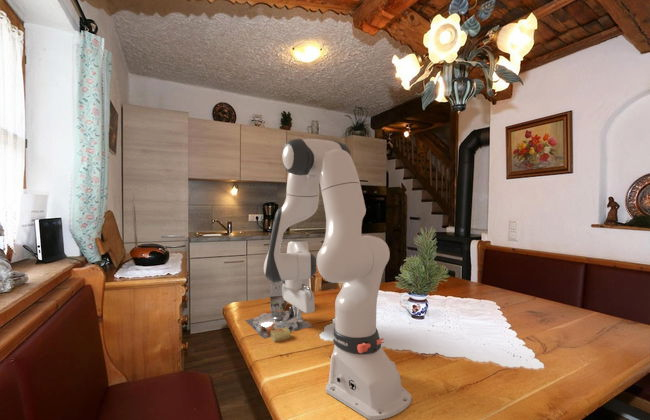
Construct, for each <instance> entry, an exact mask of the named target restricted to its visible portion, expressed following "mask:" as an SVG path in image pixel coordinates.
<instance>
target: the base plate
mask: <svg viewBox="0 0 650 420" xmlns="http://www.w3.org/2000/svg"><path fill="white" fill-rule="evenodd" d="M287 311H288V313H289V310H287ZM254 318H255V317H254ZM254 318H250V319H245V322H246V323H247V324H248V325H249V326H250V327H251V328H252V329H253V330H254V331H255V332H256V333H257V334H258V335H259V336H260V337H261V338H262V339H268V338H271V333H266V331H265V330H264V331H261V332H260V331H257V330H256V327H255V328H254V327H253V321H254ZM312 327H313V325H312V324H311V323H309V322H307V321H306V320H305V319H303V324H302V326H298V329H296V330H290V333H291V332H296V331H299V330H304V329H308V328H312Z"/></svg>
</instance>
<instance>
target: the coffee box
mask: <svg viewBox="0 0 650 420" xmlns="http://www.w3.org/2000/svg"><path fill="white" fill-rule="evenodd" d="M269 281H270V280H269ZM269 283H270V285H269V286H270V288H269V289H270V290H269V291H270V292H269V294H270V298H269V299H270V301H269V303H270V305H269V307H270V308H269V309H270V312H271V311H277V312H282V311H286V310H285V309H286V307H287V305H288V302H287V301H285V300H284V299H283V295H282V284H283V283H282V282H281V281H279V282H272V281H270V282H269Z"/></svg>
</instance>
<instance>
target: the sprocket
mask: <svg viewBox="0 0 650 420" xmlns="http://www.w3.org/2000/svg"><path fill="white" fill-rule="evenodd" d="M288 311H289V313H288ZM303 320H304V318H303V316H302V318H301V319H297V318H296V317H295V316H294V311H293V307H292V305H290V306H289V309H288V310H284V311H270V312H269V313H268V312H267V313H266V312H263V313H261V314H260V316H255V317H254V321H253V327H254V328H255V327H256V330H257V331H260V332H261V331H264V330H265V331H266V333H271V331H272V330H276V329H279V328H284V327H287V328H288V329H290V330H296V329H298V326H302V324H303ZM296 331H297V330H296Z"/></svg>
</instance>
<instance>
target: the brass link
mask: <svg viewBox="0 0 650 420" xmlns="http://www.w3.org/2000/svg"><path fill="white" fill-rule="evenodd" d="M290 338H291V332H290V329H288V328H287V327H284V328H279V329H276V330H272V331H271V337H270V340H271V341H272V342H273V343H276V342H280V341H281V342H282V341H284V340H288V339H290Z"/></svg>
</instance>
